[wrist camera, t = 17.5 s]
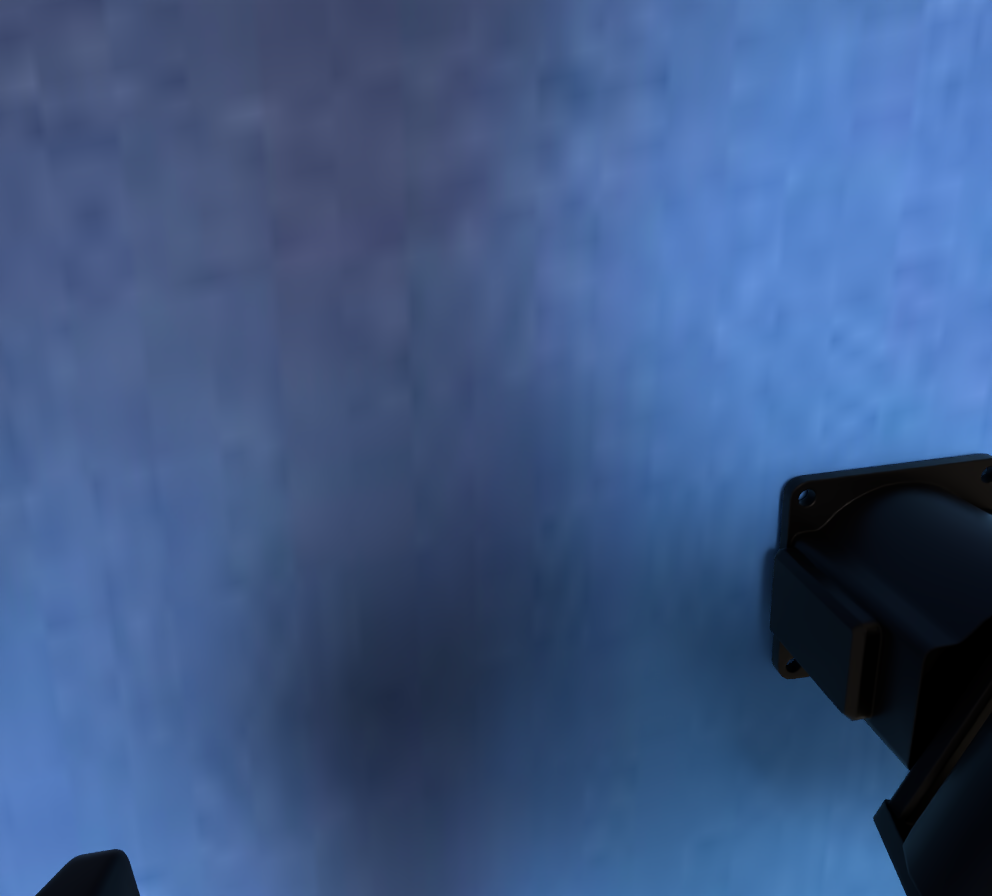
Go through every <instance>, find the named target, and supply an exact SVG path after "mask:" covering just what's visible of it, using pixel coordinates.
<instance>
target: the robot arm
mask: <svg viewBox="0 0 992 896" xmlns="http://www.w3.org/2000/svg"><path fill="white" fill-rule="evenodd" d="M986 468H987V471H986V473H985V474H984V475H983V476H982V477H981V475H982V472H983V471H984V470H985V469H986ZM807 489H808V491H809V492H808V494H807V496H806V497H805V498H804V499H802V500H800V501H799V496H800V494H801V493H802V492H803V491H805V490H807ZM770 630H771V632H772V633H773V634H774V635H773V650H772V664H773V666H774V667H775V669H776V670H777V671H778V672H779V673H780V675H781V676H782V677H784V678H786V679H796V678H803V677H809V676H810V677H811V678H812V679H813V680H814V681H815V683H816V684H817V685H818V686H819V687H820V688H821V690H822V691H823V692H824V693H825V694H826V695H827V697H828V698H829V699H830V700H831V701H832V702H833V704H834V705H835V706H836V707H837V708H838V709H839V710H840V712H841V713H842V714H844V715H845V716H846V717H848V718H849V719H850V720H852V721H854V720H860V719H864V720H865V722H866V723H867V724H868V725H869V726H870V727H871V728H872V729H873V731H874V732H875V733H876V734H877V735H878V736H879V737H880V738H881V740H882V741H883V742H884V743H885V744H886V745H887V746H888V747H889V749H890V750H891V751H892V752H893V753H894V754H895V755H896V756H897V757H898V759H899V760H900V761H901V762H902V763H903V764H904V765H905V766H906V768H907V769H908V770H909V773H908V774H907V776H906V777H905V779H904V780H903V782H902V783H901V785H900V786H899V788H898V789H897V791H896V792H895V794H894V795H893V797H892V798H891V800H888V799H886V800H884V802H883V803H882V805H881V806H880V808H879V809H878V811H877V812H876V814H875V815H874V817H873V819H874V822H875V824H876V827H877V829H878V831H879V833H880V836H881V838H882V840H883V843H884V845H885V847H886V849H887V852H888V854H889V856H890V859H891V861H892V863H893V865H894V868H895V870H896V872H897V875H898V877H899V879H900V881H901V884H902V886H903V888H904V891H905V893H906V895H907V896H992V456H991V455H989V454H974V455H966V456H958V457H950V458H942V459H933V460H925V461H917V462H909V463H901V464H893V465H885V466H877V467H869V468H860V469H852V470H844V471H836V472H828V473H820V474H812V475H804V476H799V477H796V478H794V479H792V480H791V481H790V482H789V483H788V484H787V486H786V487H785V489H784V493H783V503H782V518H781V532H780V547H779V550H778V552H777V554H776V555H775V557H774V567H773V582H772V597H771V612H770ZM793 658H794V660H793V661H792V662H791V663H789V664H787V662H788V661H789V660H790V659H793ZM786 664H787V665H786ZM35 896H140V894H139V891H138V888H137V884H136V881H135V878H134V875H133V871H132V868H131V865H130V861H129V859H128V857H127V855H126V854H125V853H124V852H123V851H122V850H118V849H113V850H107V851H101V852H95V853H89V854H83V855H79V856H77V857H75V858H73V859H72V860H70V861H69V862H68V863H67V864H66V865H65V866H64V867H63V868H62V869H61V870H60V871H59V872H58V873H57V874H56V875H55V876H54V877H53V878H52V879H51V880H50V881H49V882H48V883H47V884H46V885H45V886H44V887H43V888H42V889H41V890H40V891H39V892H38V893H37V894H36V895H35Z"/></svg>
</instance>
